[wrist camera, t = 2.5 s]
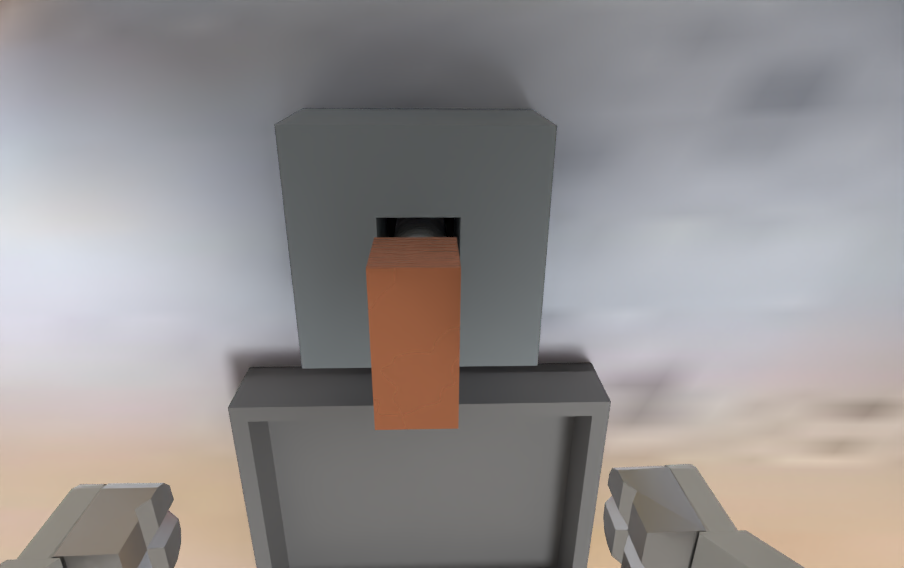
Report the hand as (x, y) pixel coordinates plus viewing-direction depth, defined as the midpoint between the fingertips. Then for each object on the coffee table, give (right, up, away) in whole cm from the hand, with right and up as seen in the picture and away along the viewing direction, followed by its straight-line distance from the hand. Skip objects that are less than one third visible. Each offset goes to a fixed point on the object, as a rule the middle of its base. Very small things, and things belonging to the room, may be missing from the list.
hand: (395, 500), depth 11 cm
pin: (0, +7, +16) cm, 18 cm away
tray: (-1, -7, +22) cm, 23 cm away
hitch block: (0, +7, +16) cm, 18 cm away
